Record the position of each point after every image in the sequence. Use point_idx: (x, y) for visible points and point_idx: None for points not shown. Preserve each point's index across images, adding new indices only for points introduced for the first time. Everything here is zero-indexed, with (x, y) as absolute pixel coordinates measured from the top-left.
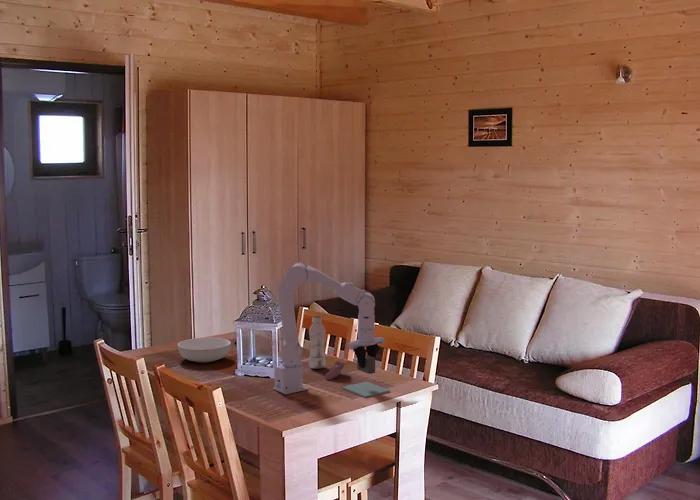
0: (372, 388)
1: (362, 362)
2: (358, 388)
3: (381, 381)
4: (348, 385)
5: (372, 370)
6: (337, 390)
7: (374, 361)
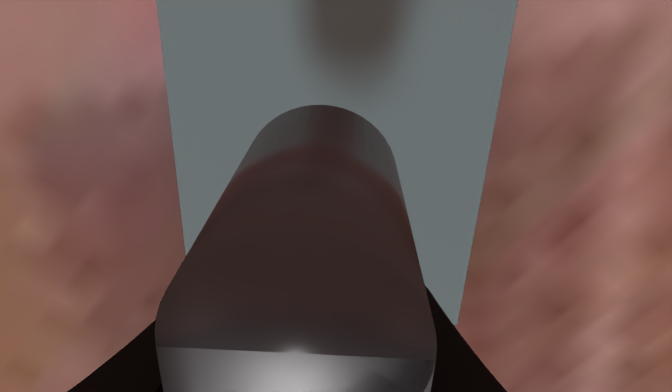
0: None
1: (474, 355)
2: None
3: (62, 268)
4: None
5: (341, 124)
6: (517, 303)
7: (267, 193)
